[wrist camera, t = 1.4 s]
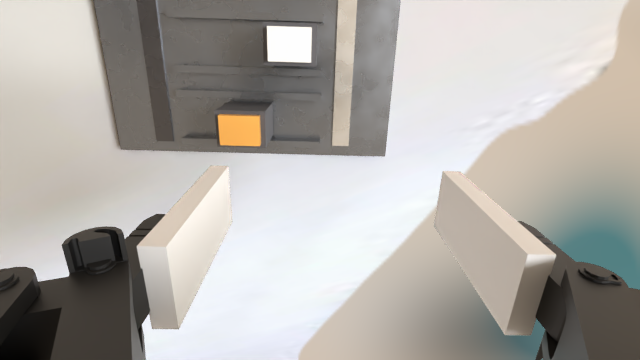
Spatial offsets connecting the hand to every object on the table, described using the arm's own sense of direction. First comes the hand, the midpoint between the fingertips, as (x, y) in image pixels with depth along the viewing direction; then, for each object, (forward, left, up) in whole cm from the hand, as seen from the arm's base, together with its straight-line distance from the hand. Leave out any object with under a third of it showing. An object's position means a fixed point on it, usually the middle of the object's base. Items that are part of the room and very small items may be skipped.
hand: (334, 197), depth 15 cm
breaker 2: (-3, +6, -18) cm, 20 cm away
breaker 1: (-7, 0, -18) cm, 20 cm away
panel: (-7, +6, -20) cm, 22 cm away
